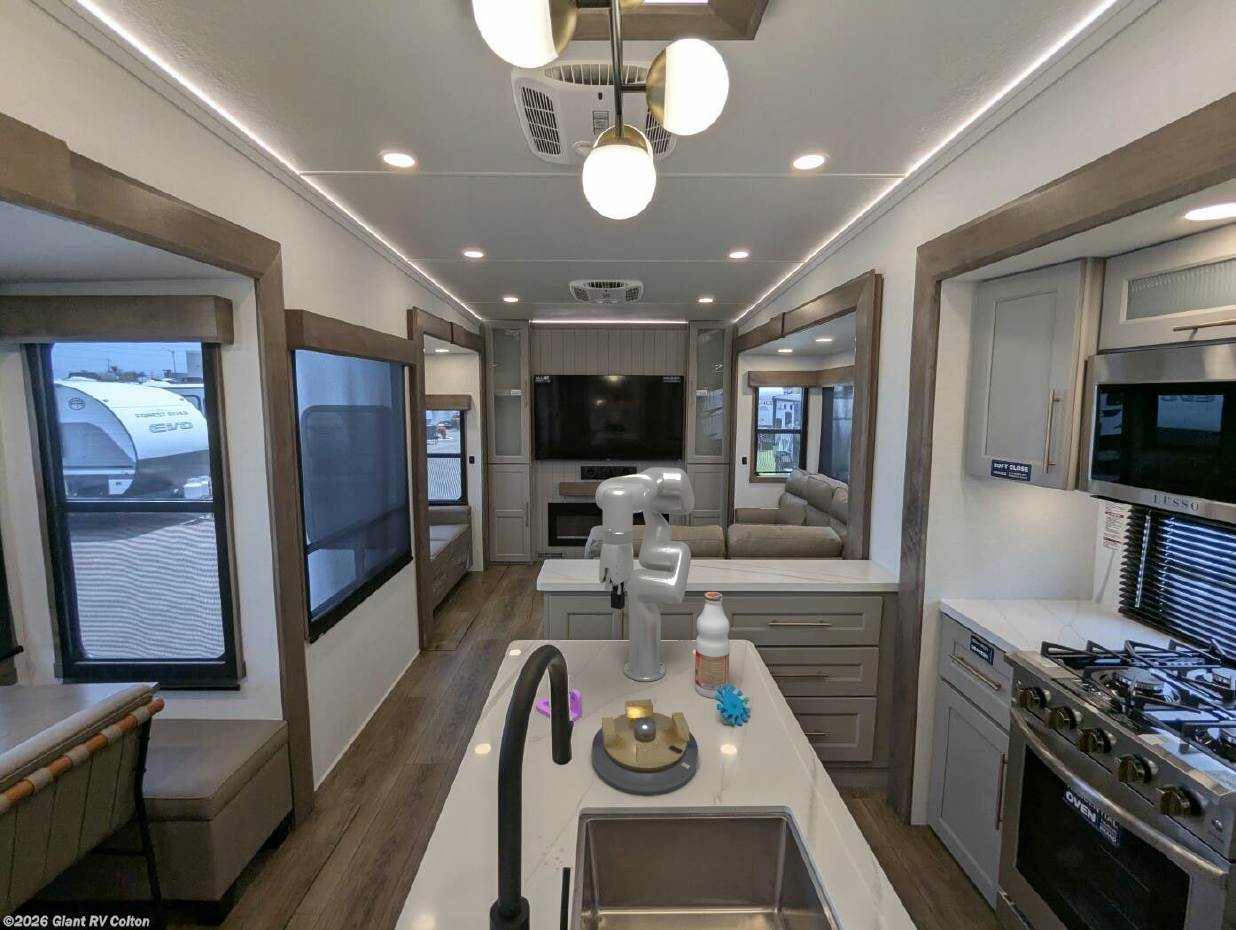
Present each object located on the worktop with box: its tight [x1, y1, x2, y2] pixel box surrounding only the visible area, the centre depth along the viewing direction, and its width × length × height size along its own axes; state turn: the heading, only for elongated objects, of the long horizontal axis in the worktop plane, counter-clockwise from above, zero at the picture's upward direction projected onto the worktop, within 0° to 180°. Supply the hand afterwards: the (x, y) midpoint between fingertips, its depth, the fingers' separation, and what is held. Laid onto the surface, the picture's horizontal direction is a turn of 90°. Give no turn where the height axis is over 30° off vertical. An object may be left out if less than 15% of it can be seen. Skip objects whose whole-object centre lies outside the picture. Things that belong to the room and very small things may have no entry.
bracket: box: [535, 688, 583, 724], centre depth 136 cm, size 13×6×7 cm, turn 51°
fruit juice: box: [694, 591, 731, 699], centre depth 146 cm, size 9×9×28 cm
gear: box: [714, 684, 751, 726], centre depth 136 cm, size 11×6×10 cm
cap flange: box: [591, 727, 699, 797], centre depth 119 cm, size 24×24×3 cm
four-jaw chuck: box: [601, 698, 690, 773], centre depth 119 cm, size 19×19×5 cm
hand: (617, 607), depth 132 cm, fingers closed
